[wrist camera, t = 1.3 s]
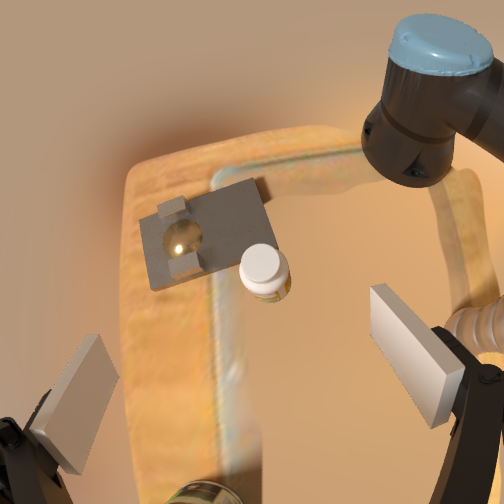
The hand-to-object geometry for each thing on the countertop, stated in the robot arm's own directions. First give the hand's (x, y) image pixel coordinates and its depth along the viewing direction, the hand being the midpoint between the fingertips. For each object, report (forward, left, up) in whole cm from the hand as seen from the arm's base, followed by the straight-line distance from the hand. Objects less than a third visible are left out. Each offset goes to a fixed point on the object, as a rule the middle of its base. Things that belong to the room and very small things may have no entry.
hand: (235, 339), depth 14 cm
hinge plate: (-1, -18, -26) cm, 32 cm away
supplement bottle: (-4, -7, -26) cm, 27 cm away
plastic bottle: (-19, +15, -26) cm, 35 cm away
